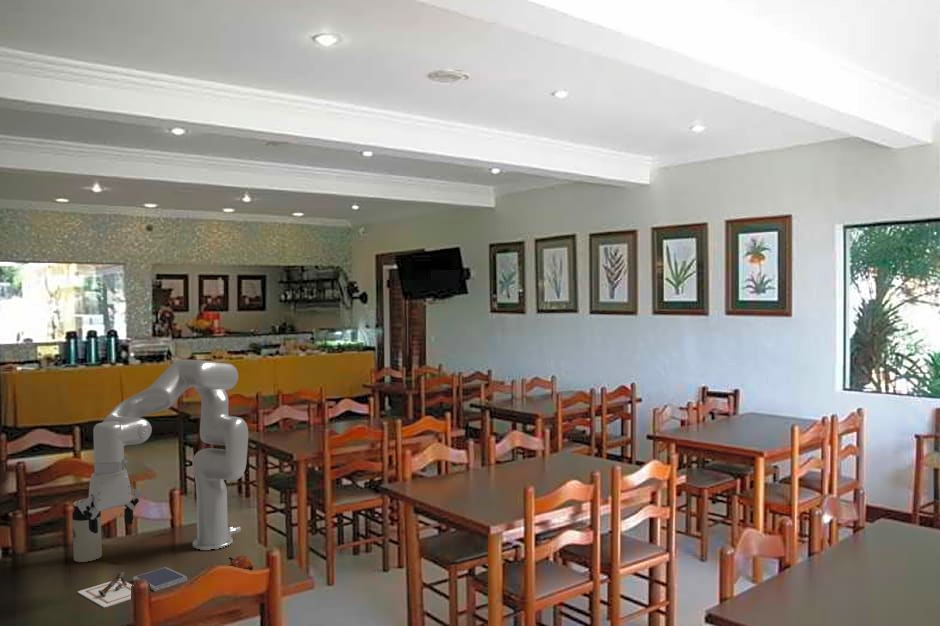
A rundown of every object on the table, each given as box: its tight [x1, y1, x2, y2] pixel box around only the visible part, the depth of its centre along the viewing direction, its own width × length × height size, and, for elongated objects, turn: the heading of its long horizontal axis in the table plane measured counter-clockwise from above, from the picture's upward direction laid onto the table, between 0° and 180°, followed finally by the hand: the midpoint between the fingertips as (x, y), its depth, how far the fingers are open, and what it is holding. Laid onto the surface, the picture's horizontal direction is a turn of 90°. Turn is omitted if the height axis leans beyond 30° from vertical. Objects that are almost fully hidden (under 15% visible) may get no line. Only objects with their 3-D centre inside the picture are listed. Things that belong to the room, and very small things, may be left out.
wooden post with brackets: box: [98, 571, 128, 597], centre depth 219 cm, size 2×8×4 cm, turn 151°
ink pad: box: [132, 566, 188, 592], centre depth 227 cm, size 10×12×1 cm
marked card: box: [77, 579, 133, 609], centre depth 219 cm, size 12×16×1 cm
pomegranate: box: [227, 555, 255, 571], centre depth 227 cm, size 7×7×10 cm
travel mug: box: [71, 498, 103, 563], centre depth 245 cm, size 8×8×18 cm
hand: (111, 527), depth 218 cm, fingers open, 9 cm apart
